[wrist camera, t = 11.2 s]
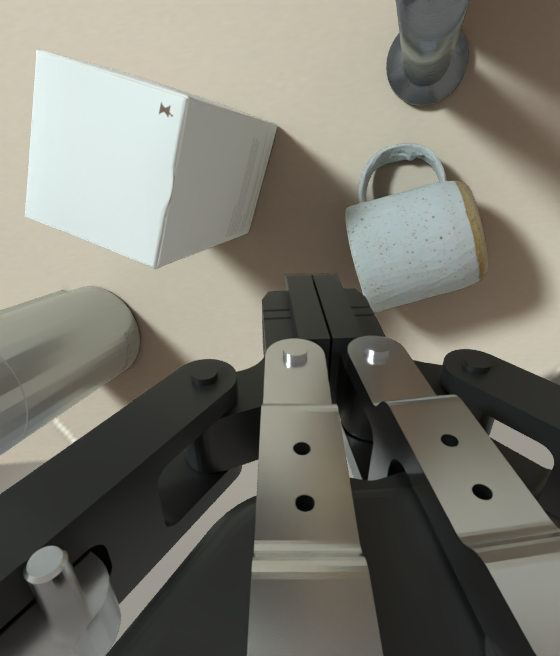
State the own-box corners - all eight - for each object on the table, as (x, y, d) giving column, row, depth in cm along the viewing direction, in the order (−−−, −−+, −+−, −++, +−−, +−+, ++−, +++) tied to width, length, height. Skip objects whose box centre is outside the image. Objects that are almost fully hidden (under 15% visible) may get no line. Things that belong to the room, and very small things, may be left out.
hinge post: (377, 96, 32) (346, 33, 18) (400, 12, 31) (388, -137, 16) (450, 113, 32) (481, 60, 17) (479, 26, 30) (542, -117, 15)
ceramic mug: (483, 270, 34) (501, 293, 27) (375, 299, 37) (366, 326, 30) (448, 126, 32) (458, 110, 25) (337, 168, 35) (317, 164, 28)
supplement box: (176, 89, 36) (30, 38, 22) (280, 124, 35) (193, 92, 21) (154, 202, 40) (17, 217, 26) (248, 237, 38) (156, 273, 25)
